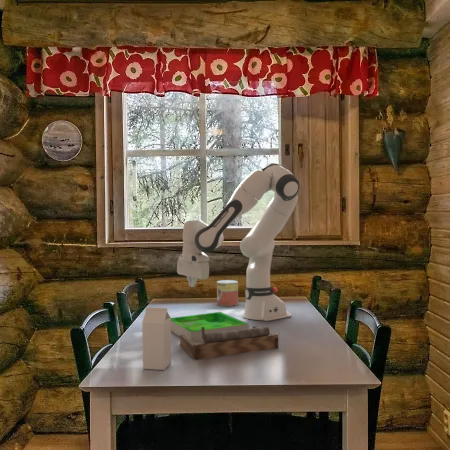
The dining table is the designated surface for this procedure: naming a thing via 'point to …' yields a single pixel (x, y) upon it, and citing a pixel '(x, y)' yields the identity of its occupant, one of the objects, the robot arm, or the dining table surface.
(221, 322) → the tray
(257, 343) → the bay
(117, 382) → the dining table surface
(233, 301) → the canned food
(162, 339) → the milk carton
